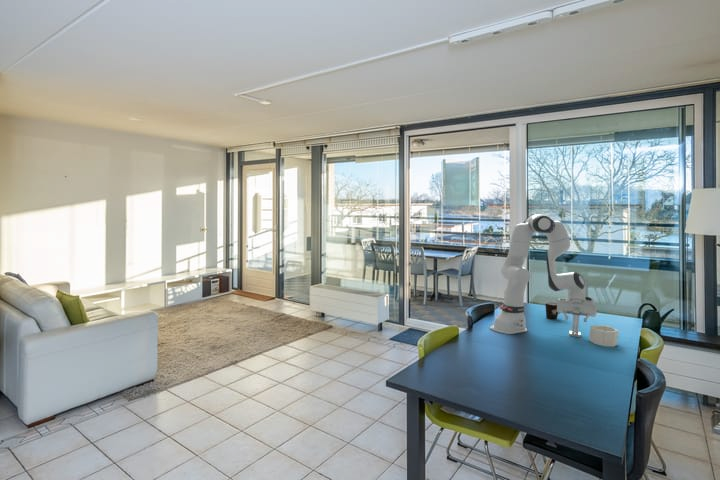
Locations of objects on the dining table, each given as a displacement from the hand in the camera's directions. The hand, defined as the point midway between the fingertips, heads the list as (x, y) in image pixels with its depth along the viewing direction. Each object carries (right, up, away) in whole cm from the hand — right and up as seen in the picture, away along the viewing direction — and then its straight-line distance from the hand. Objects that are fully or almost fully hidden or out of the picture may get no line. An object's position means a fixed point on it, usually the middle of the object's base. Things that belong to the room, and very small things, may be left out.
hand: (575, 320), depth 226 cm
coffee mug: (+5, -6, +36) cm, 37 cm away
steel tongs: (0, -9, +1) cm, 9 cm away
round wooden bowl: (+9, -10, -11) cm, 17 cm away
